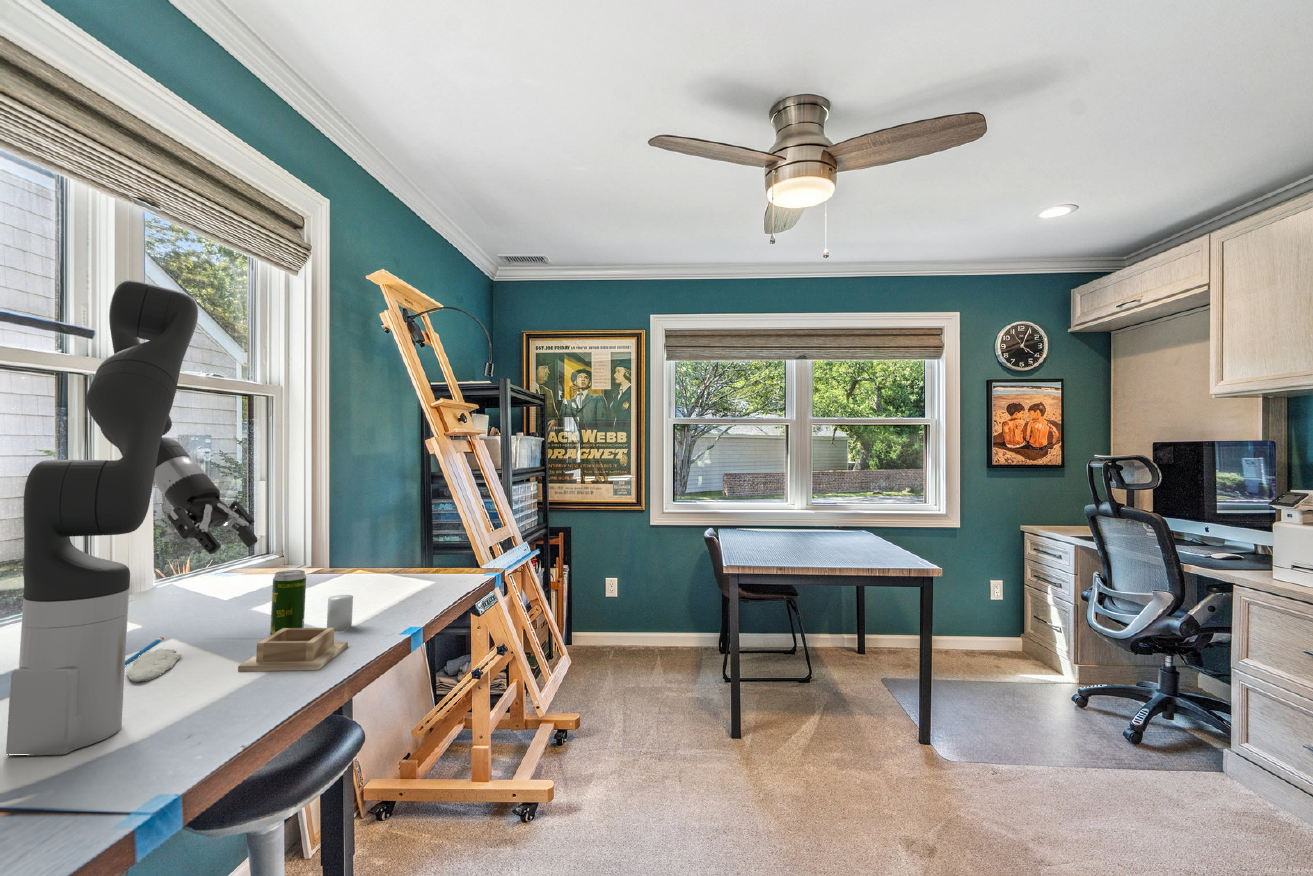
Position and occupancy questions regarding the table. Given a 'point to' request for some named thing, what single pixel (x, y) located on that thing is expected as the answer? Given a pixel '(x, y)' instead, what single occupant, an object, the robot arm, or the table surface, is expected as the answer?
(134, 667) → the stone tool
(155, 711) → the table surface
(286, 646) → the socket
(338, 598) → the short post
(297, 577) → the beer can
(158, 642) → the pencil
